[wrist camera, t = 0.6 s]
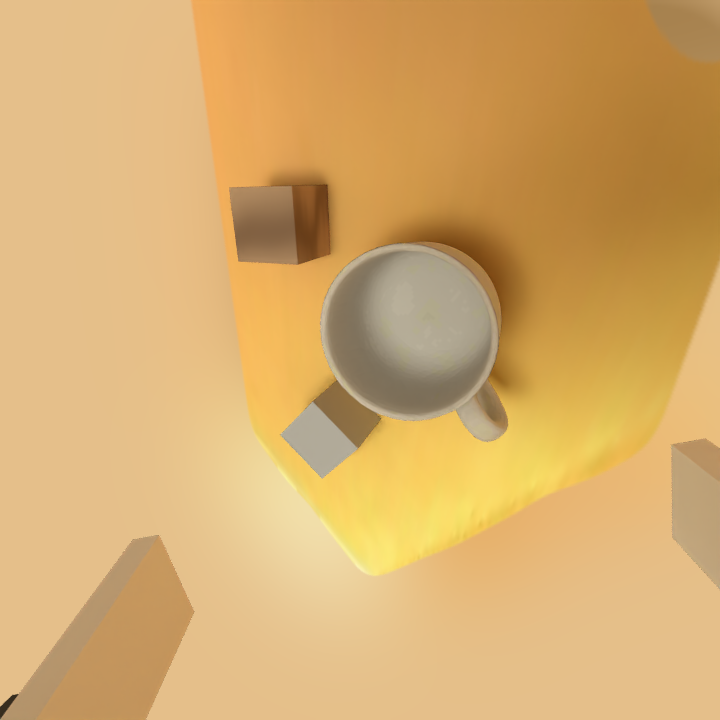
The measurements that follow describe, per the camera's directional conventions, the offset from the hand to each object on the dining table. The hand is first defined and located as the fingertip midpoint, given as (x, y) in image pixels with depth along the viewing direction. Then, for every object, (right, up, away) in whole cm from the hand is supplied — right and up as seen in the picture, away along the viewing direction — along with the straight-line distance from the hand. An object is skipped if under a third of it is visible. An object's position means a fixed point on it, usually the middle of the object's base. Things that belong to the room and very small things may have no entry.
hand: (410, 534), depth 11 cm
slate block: (-3, 0, +28) cm, 28 cm away
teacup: (+5, +7, +21) cm, 23 cm away
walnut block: (-6, +15, +23) cm, 28 cm away
